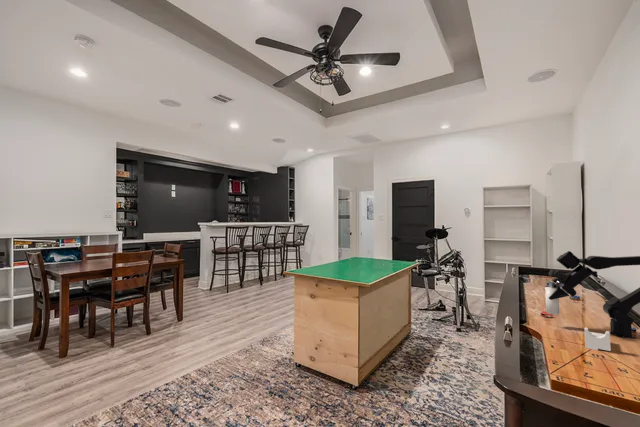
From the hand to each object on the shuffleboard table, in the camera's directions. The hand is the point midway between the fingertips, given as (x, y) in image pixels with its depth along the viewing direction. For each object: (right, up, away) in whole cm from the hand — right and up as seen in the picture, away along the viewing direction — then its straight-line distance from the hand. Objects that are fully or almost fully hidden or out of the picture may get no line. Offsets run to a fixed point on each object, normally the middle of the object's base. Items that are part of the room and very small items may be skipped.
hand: (548, 297), depth 141 cm
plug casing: (+1, -7, -1) cm, 7 cm away
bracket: (+1, -13, -24) cm, 27 cm away
